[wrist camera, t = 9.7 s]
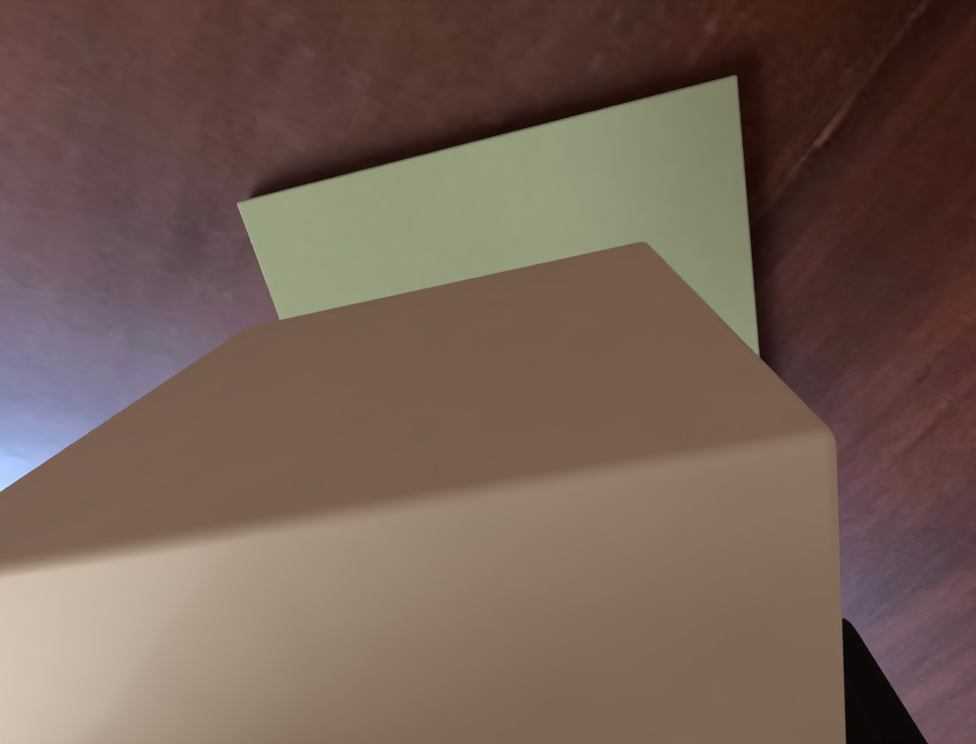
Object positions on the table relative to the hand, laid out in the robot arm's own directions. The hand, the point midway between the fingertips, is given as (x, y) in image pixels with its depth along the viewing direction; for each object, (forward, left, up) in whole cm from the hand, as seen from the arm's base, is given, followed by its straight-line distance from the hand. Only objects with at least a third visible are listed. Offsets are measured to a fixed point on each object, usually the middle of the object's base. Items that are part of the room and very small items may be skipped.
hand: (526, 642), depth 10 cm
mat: (0, 0, -13) cm, 13 cm away
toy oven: (0, 0, -1) cm, 1 cm away
